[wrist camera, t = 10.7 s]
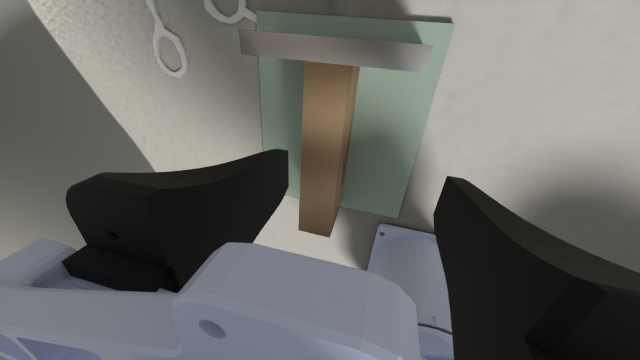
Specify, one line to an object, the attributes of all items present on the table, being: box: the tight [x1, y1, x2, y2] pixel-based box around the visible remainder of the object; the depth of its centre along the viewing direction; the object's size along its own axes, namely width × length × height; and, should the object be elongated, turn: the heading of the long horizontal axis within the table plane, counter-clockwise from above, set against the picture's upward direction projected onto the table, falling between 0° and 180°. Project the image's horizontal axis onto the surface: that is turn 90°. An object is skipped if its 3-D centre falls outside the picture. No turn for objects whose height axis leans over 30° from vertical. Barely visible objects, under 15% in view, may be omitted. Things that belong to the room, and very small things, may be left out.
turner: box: [239, 29, 433, 237], centre depth 18 cm, size 13×10×5 cm
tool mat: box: [256, 10, 455, 219], centre depth 20 cm, size 15×13×1 cm
